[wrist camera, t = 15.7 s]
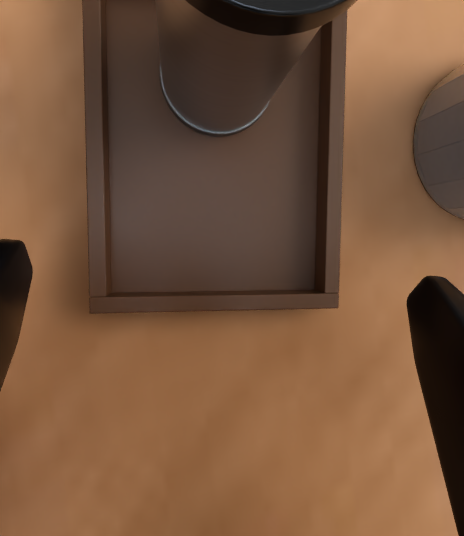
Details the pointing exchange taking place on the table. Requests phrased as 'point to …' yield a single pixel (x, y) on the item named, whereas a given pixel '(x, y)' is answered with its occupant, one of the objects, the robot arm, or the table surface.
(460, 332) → the robot arm
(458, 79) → the cup
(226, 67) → the metal tumbler
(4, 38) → the table surface
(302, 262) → the tray
